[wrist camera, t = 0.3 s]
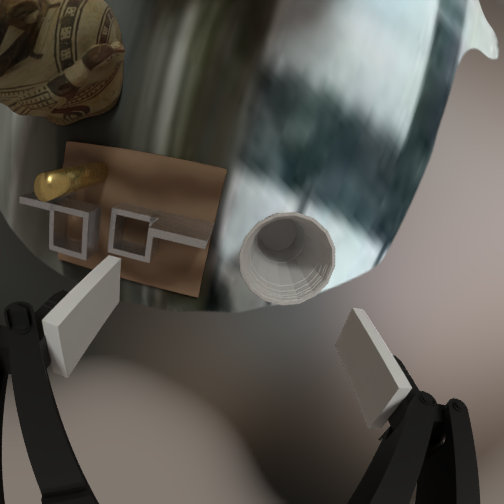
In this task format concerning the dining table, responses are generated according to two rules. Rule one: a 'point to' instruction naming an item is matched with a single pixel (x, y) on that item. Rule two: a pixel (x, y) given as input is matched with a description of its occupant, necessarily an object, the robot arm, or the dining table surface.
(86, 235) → the flanged square frame
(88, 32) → the ceramic vessel
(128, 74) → the dining table surface
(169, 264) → the board
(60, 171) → the pin
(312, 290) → the plastic cup
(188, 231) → the fixed leaf
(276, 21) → the dining table surface
